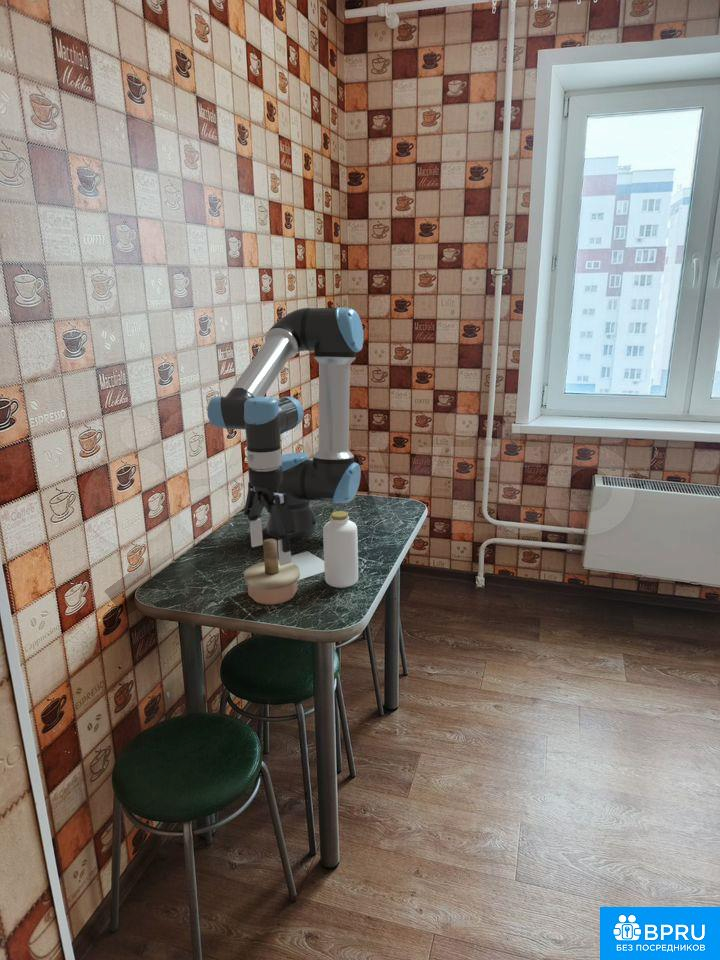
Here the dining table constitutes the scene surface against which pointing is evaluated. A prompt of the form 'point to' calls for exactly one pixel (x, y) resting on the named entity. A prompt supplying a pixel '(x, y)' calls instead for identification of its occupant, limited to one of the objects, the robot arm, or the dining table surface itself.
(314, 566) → the mat
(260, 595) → the bowl
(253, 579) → the lid
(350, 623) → the dining table surface
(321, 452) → the robot arm
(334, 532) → the white bottle
